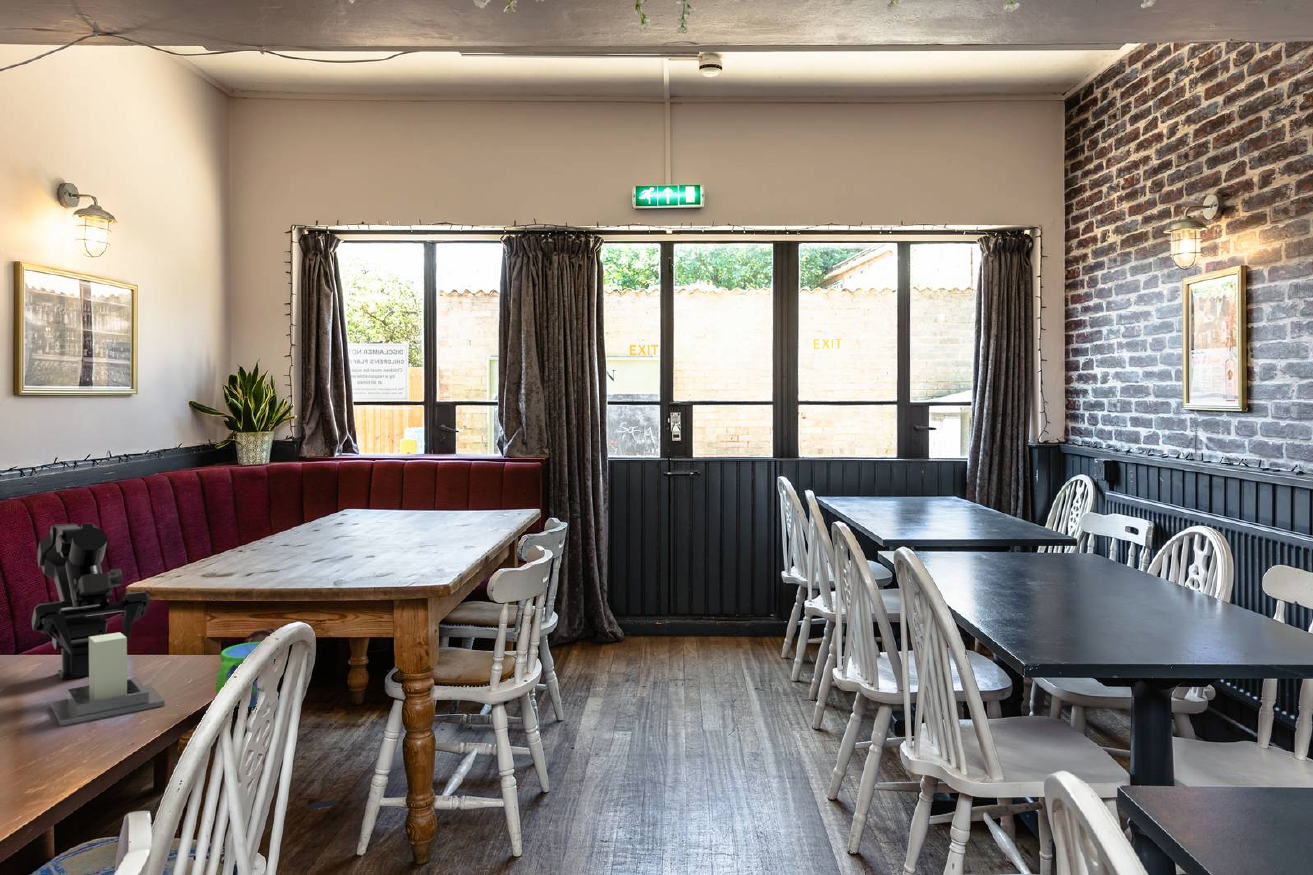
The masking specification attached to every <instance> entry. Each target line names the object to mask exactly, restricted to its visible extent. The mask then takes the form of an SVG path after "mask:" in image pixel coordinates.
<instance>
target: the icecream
mask: <svg viewBox="0 0 1313 875" xmlns="http://www.w3.org/2000/svg"><path fill="white" fill-rule="evenodd" d="M275 631H276V630H275V627H269V628H266V629H261V630H255V631H254V632H252V633H250V634H249V635H248V636H246V637H245V638H244V639H243V640H244V643H251V642H261V641H263V640H264V639H265V638H266V637H267V636H270V634H272V633H273V632H274V633H275Z"/></svg>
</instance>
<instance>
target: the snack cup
mask: <svg viewBox="0 0 1313 875" xmlns="http://www.w3.org/2000/svg"><path fill="white" fill-rule="evenodd" d="M260 643H261V642H251V643H245V642H244V643H240V644H237V645H232V646H228V647H226V648H225V649H223V650H221V653H220V654H219V656H220V660H221V665H220V667H219V671H218V674H217V676H216V677H217V678H216V683H215V692H216V695H217V694H218V692H219V691H220V689H221V688H222V687H224V685H225V682H226V681H227V680H228V679H229V678H230V677H231V675H232V674H233V673H234V671H235V670H236V668H238V666H239V665H240V664H242V663H243V661H244V659H245V657H246V656H247V655H249V654H250V653H251V652H252V650H254V649H255V648H256V647H257V646H258V645H259V644H260ZM226 683H227V682H226ZM258 697H259V690H258V688H257V680H256V681H255V682H254V686H253V688H252V694H251V700H250V705H249V707H248V708H255V707H256V706H255V705H256V704H257V700H258ZM238 705H239V704H238ZM238 705H236V706H235V707H236V708H239V707H238Z"/></svg>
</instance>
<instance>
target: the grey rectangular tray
mask: <svg viewBox="0 0 1313 875" xmlns="http://www.w3.org/2000/svg"><path fill="white" fill-rule="evenodd" d="M165 703H166V702H165V698H163V697H162V696H161V695H160V694H159V692H157V690H156V689H155V687H154V686H152V685H151V684H150V683H149V684H144V685H143V684H142V683H141V681H140V680H138V678H137V677H131V678H127V695H121V696H116V697H110V698H105V699H99V700H94V701H89V685H85V686H79V687H73V688H68V689H67V698H66V699H61V700H57V701H56V700H54V701H51V702H50V708H51V710H52V711H53V714H54V716H55V718H56V720H57V722H58V723H59V726H60V727H63V726H69V725H73V724H80V723H85V722H89V721H94V720H98V719H99V720H100V719H104V718H110V717H115V716H119V715H125V714H129V713H130V714H131V713H135V712H140V711H145V710H150V709H155V708H161V707H165V706H166V705H165Z"/></svg>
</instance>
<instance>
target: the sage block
mask: <svg viewBox="0 0 1313 875" xmlns="http://www.w3.org/2000/svg"><path fill="white" fill-rule="evenodd" d="M127 647H128V644H127V637H125V636H124V634H123V632H122V633H121V632H120V631H119V632H114V633H113V632H112V633H106V634H105V635H98V636H91V637H89V675H88V686H89V701H94V700H99V699H105V698H110V697H116V696H121V695H127V679H128V665H127V664H128V648H127Z"/></svg>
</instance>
